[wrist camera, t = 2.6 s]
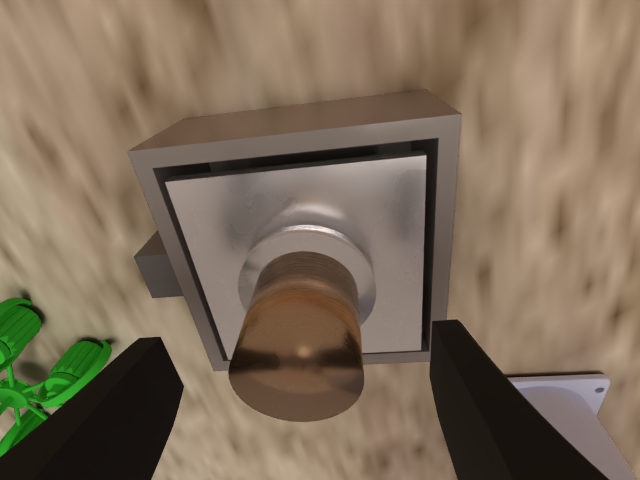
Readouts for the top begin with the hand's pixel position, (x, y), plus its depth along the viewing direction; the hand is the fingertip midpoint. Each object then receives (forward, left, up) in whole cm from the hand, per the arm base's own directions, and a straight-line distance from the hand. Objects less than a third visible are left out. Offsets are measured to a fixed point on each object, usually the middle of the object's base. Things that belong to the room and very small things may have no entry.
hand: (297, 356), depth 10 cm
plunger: (0, 0, -4) cm, 4 cm away
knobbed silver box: (0, 0, -9) cm, 9 cm away
